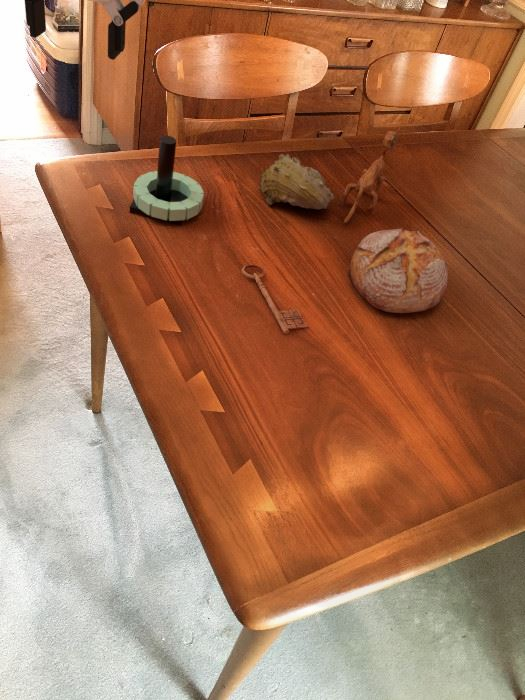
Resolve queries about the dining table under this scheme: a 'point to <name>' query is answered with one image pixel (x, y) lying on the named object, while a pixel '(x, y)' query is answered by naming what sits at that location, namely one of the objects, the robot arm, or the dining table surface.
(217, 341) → the dining table surface
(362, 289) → the bread
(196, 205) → the ring
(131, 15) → the robot arm
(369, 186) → the dinosaur figurine
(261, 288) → the key
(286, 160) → the seashell
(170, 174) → the post
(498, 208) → the dining table surface
